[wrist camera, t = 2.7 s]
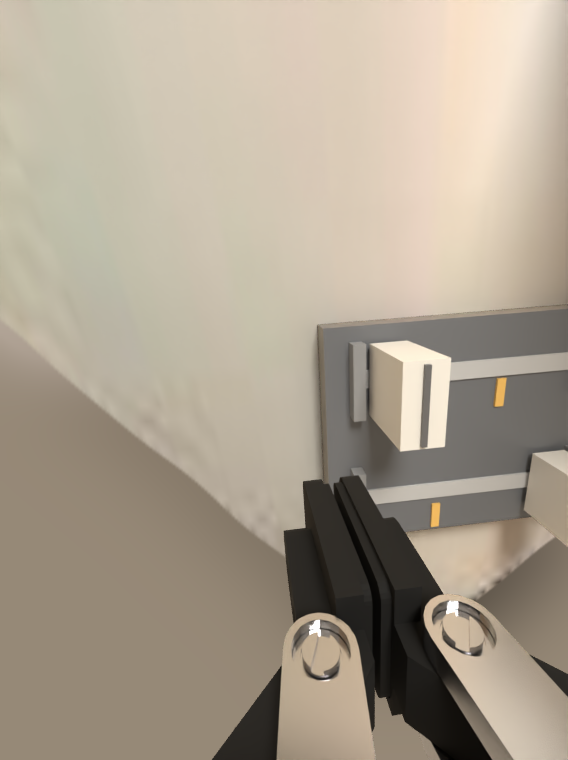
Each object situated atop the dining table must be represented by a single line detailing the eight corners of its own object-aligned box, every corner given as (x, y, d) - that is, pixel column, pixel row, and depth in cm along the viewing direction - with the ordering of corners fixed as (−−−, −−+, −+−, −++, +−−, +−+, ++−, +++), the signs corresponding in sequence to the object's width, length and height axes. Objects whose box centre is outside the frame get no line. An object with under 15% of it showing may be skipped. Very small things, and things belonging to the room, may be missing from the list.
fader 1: (369, 343, 21) (404, 363, 16) (407, 340, 21) (453, 358, 16) (369, 415, 23) (401, 453, 18) (404, 411, 23) (446, 448, 18)
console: (317, 324, 23) (326, 331, 20) (595, 302, 24) (641, 305, 21) (325, 522, 28) (333, 550, 25) (559, 495, 29) (592, 519, 26)
